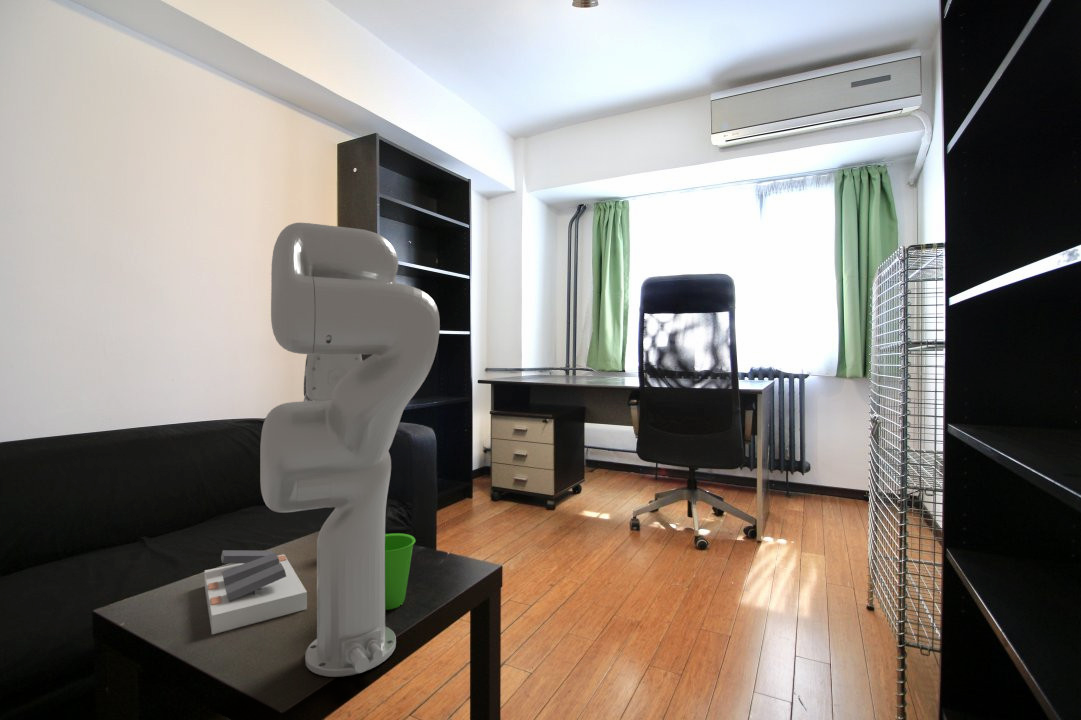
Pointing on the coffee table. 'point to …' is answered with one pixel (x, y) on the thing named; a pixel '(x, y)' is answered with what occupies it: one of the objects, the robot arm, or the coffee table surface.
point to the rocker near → (255, 582)
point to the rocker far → (242, 556)
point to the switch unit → (252, 599)
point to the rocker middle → (249, 568)
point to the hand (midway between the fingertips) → (334, 437)
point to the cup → (397, 568)
